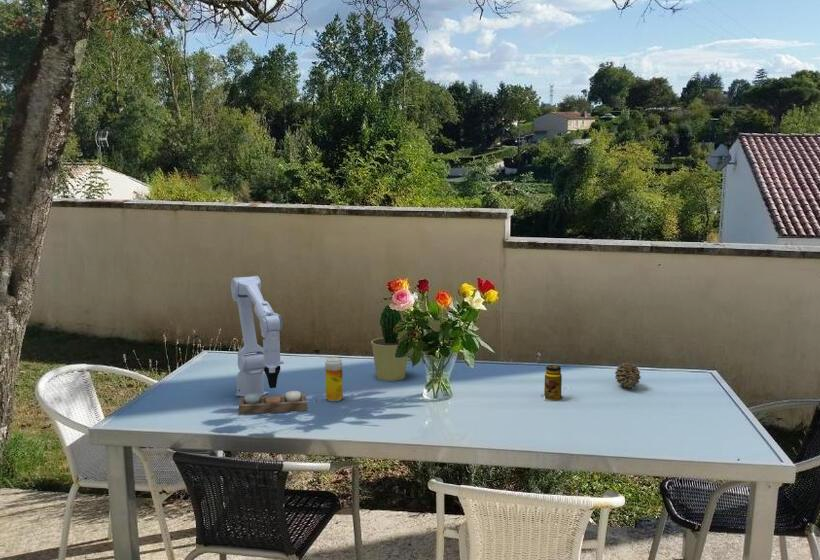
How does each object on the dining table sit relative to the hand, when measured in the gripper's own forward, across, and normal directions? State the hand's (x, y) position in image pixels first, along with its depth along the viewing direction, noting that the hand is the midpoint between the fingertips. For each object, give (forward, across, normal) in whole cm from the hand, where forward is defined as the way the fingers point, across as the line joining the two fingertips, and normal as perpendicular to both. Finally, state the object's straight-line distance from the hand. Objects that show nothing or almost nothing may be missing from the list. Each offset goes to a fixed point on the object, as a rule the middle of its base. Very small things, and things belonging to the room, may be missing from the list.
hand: (272, 387), depth 265 cm
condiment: (+8, -6, -100) cm, 101 cm away
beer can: (+8, +6, -22) cm, 24 cm away
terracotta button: (+7, 0, 0) cm, 7 cm away
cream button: (+5, 0, -7) cm, 9 cm away
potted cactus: (+8, +32, -46) cm, 57 cm away
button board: (+7, 0, 0) cm, 7 cm away
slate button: (+5, 0, +7) cm, 9 cm away
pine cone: (+8, +4, -134) cm, 134 cm away
